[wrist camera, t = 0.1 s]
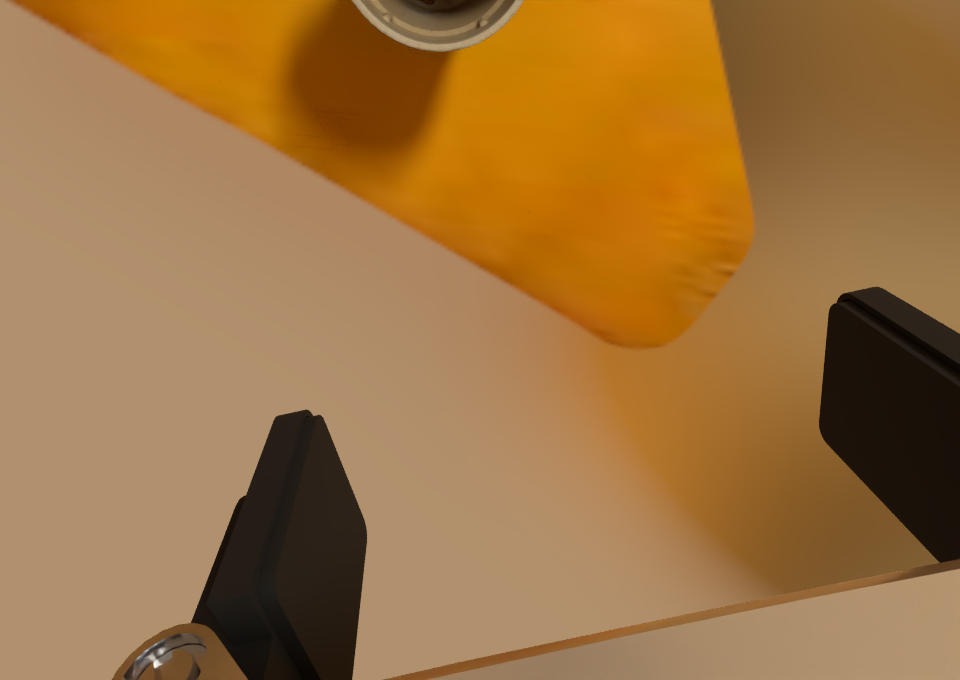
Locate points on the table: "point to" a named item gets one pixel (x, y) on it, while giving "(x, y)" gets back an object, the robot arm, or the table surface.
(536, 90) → the table surface
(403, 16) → the flower pot
